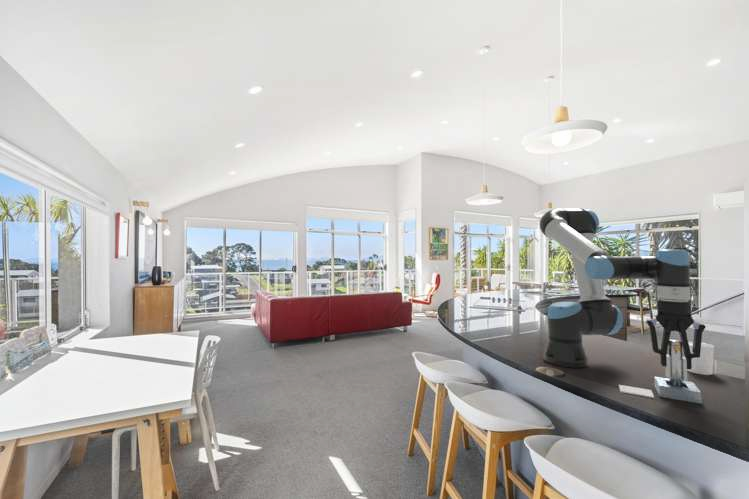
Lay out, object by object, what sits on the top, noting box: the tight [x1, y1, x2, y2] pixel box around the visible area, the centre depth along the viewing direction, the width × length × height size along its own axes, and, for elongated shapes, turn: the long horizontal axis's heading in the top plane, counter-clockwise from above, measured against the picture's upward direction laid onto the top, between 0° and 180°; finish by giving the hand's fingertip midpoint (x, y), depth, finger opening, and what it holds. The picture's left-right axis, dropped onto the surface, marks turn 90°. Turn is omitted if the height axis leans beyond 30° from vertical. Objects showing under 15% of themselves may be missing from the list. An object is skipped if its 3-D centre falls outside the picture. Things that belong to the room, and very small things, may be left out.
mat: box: [618, 384, 655, 399], centre depth 100 cm, size 8×6×1 cm
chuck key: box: [668, 339, 684, 387], centre depth 98 cm, size 3×6×15 cm, turn 146°
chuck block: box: [654, 376, 703, 404], centre depth 98 cm, size 9×9×3 cm
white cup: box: [683, 340, 715, 376], centre depth 118 cm, size 8×8×10 cm
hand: (676, 378), depth 98 cm, fingers closed on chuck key, 3 cm apart
